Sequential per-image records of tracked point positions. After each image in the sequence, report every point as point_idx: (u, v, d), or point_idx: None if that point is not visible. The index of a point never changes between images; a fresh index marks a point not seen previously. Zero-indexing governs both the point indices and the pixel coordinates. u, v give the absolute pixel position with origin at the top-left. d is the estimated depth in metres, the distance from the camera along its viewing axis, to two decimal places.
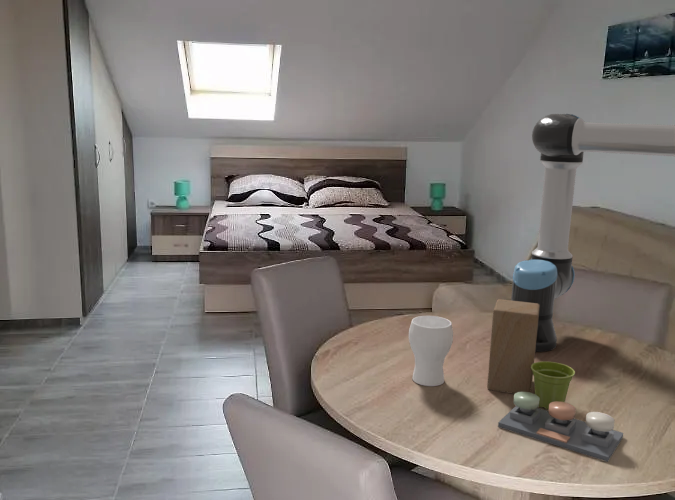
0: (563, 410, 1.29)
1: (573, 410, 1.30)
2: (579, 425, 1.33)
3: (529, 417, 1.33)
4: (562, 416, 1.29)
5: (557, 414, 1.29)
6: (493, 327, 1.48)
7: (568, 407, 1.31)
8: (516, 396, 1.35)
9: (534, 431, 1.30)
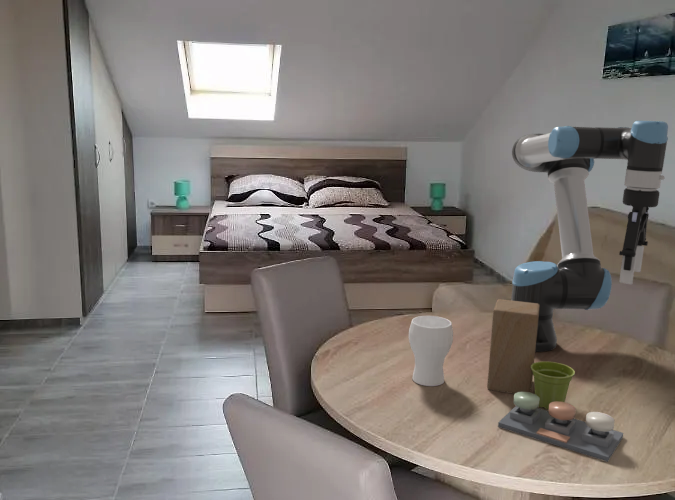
0: (563, 410, 1.29)
1: (573, 410, 1.30)
2: (579, 425, 1.33)
3: (529, 417, 1.33)
4: (562, 416, 1.29)
5: (557, 414, 1.29)
6: (493, 327, 1.48)
7: (568, 407, 1.31)
8: (516, 396, 1.35)
9: (534, 431, 1.30)
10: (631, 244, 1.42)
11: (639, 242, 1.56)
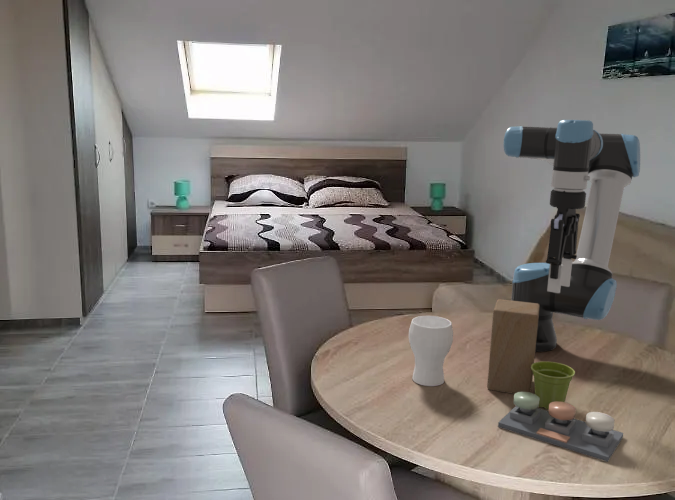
0: (563, 410, 1.29)
1: (573, 410, 1.30)
2: (579, 425, 1.33)
3: (529, 417, 1.33)
4: (562, 416, 1.29)
5: (557, 414, 1.29)
6: (493, 327, 1.48)
7: (568, 407, 1.31)
8: (516, 396, 1.35)
9: (534, 431, 1.30)
10: (555, 253, 1.40)
11: (568, 254, 1.49)
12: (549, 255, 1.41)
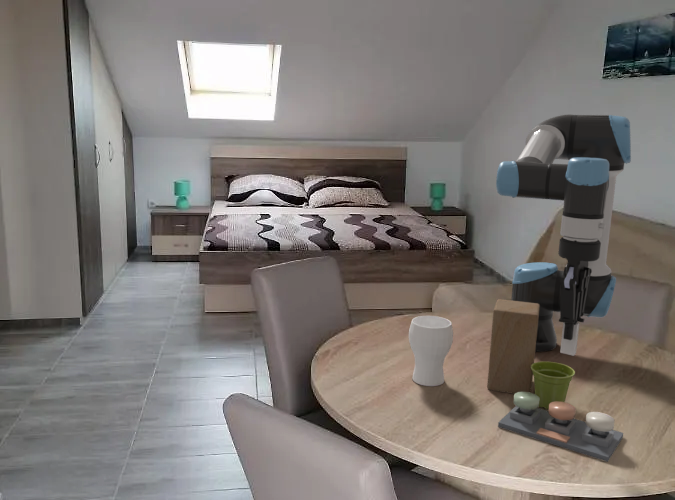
0: (563, 410, 1.29)
1: (573, 410, 1.30)
2: (579, 425, 1.33)
3: (529, 417, 1.33)
4: (562, 416, 1.29)
5: (557, 414, 1.29)
6: (493, 327, 1.48)
7: (568, 407, 1.31)
8: (516, 396, 1.35)
9: (534, 431, 1.30)
10: (568, 313, 1.23)
11: None
12: (562, 315, 1.24)
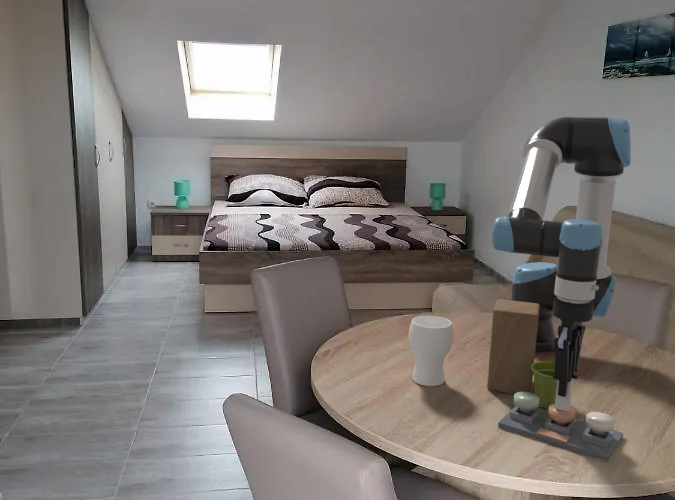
0: (562, 413, 1.29)
1: (573, 413, 1.30)
2: (579, 425, 1.33)
3: (529, 417, 1.33)
4: (562, 419, 1.29)
5: (557, 417, 1.29)
6: (493, 327, 1.48)
7: None
8: (516, 396, 1.35)
9: (534, 431, 1.30)
10: (562, 372, 1.25)
11: None
12: (556, 373, 1.26)
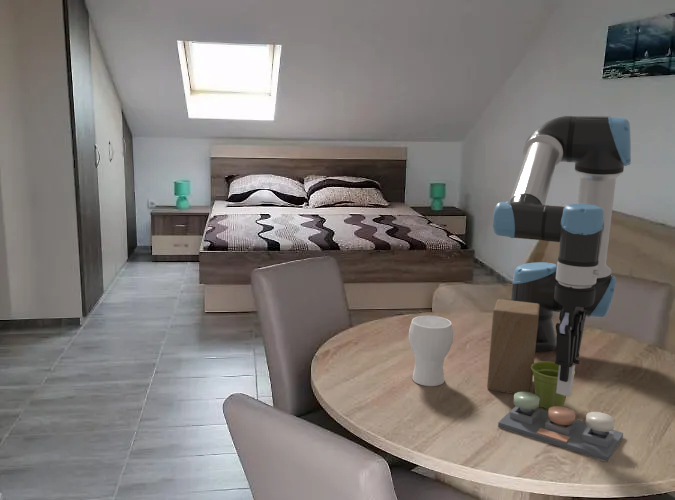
0: (562, 415, 1.29)
1: (572, 415, 1.30)
2: (579, 425, 1.33)
3: (529, 417, 1.33)
4: (561, 421, 1.29)
5: (556, 419, 1.29)
6: (493, 327, 1.48)
7: (568, 412, 1.31)
8: (516, 396, 1.35)
9: (534, 431, 1.30)
10: (564, 357, 1.25)
11: None
12: (558, 359, 1.26)
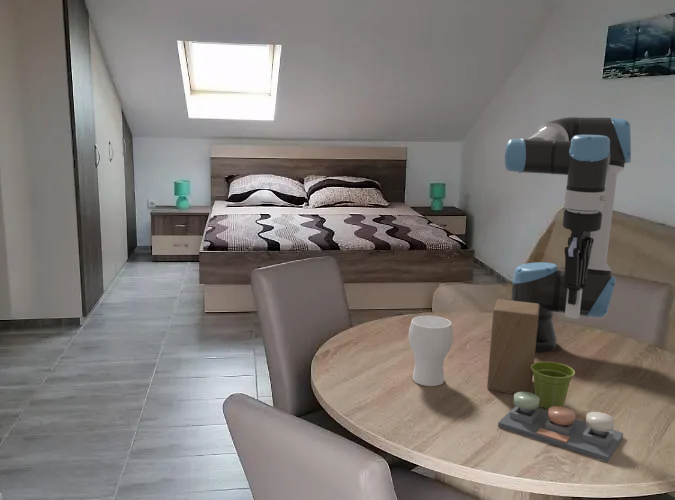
0: (562, 415, 1.29)
1: (572, 415, 1.30)
2: (579, 425, 1.33)
3: (529, 417, 1.33)
4: (561, 421, 1.29)
5: (556, 419, 1.29)
6: (493, 327, 1.48)
7: (568, 412, 1.31)
8: (516, 396, 1.35)
9: (534, 431, 1.30)
10: (572, 280, 1.33)
11: None
12: (566, 282, 1.34)
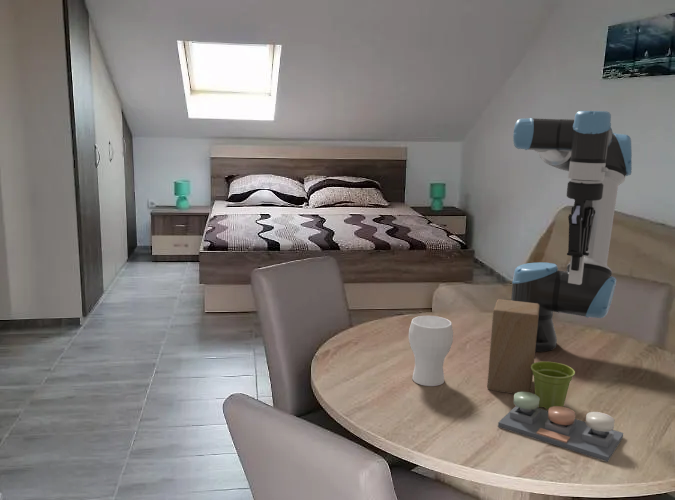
0: (562, 415, 1.29)
1: (572, 415, 1.30)
2: (579, 425, 1.33)
3: (529, 417, 1.33)
4: (561, 421, 1.29)
5: (556, 419, 1.29)
6: (493, 327, 1.48)
7: (568, 412, 1.31)
8: (516, 396, 1.35)
9: (534, 431, 1.30)
10: (575, 246, 1.42)
11: None
12: (570, 248, 1.43)
